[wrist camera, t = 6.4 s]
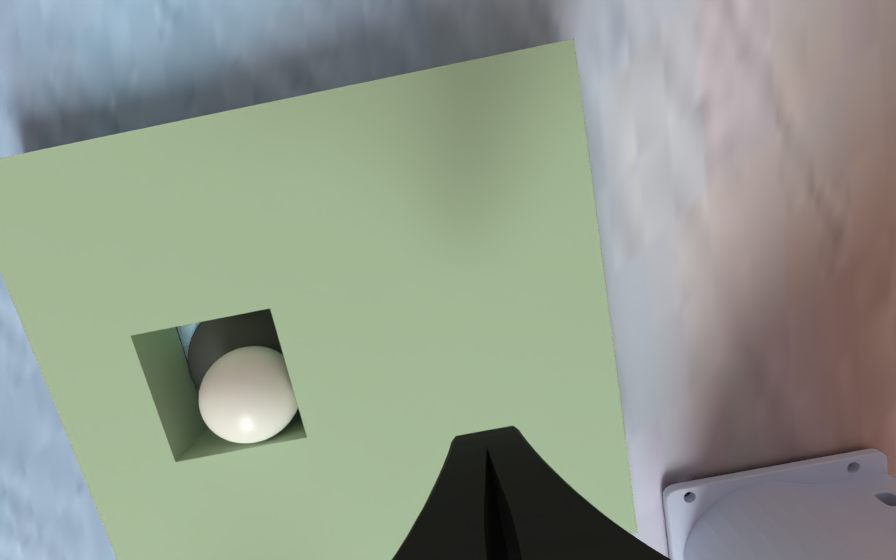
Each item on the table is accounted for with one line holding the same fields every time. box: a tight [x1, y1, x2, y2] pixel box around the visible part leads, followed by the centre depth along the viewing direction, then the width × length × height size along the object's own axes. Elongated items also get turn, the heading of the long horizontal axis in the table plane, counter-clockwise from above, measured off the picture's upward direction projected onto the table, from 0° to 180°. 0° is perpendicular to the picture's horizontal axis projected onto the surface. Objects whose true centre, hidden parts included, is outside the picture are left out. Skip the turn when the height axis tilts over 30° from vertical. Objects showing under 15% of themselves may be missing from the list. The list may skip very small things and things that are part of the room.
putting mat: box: [0, 39, 638, 560], centre depth 18 cm, size 20×18×2 cm
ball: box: [198, 346, 298, 443], centre depth 17 cm, size 4×4×4 cm
